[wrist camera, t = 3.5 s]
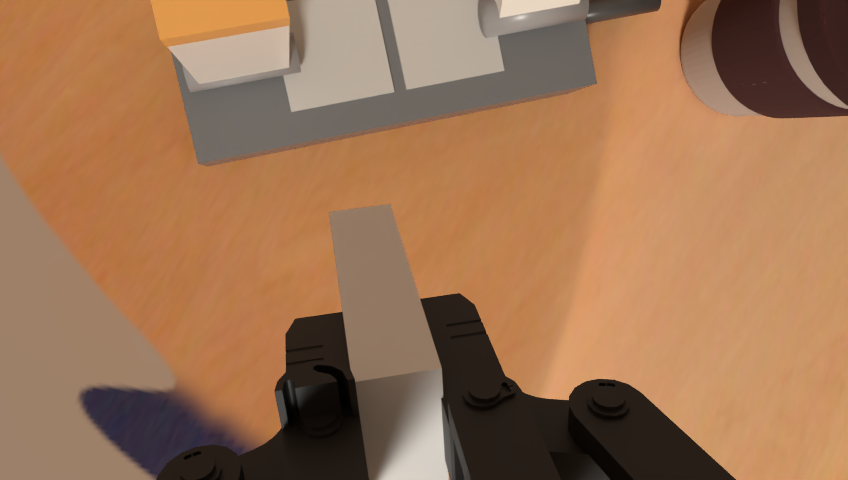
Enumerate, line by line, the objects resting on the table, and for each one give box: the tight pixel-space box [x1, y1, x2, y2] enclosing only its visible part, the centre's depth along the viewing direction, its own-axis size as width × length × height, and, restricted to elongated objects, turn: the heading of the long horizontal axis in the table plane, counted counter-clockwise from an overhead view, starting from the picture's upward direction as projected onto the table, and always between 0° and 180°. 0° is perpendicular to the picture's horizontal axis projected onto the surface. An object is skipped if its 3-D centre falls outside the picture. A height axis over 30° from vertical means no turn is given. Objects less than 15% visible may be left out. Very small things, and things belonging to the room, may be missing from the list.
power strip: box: [172, 0, 661, 166], centre depth 38 cm, size 26×8×4 cm, turn 102°
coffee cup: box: [680, 0, 848, 118], centre depth 36 cm, size 10×10×15 cm
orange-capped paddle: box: [151, 0, 301, 92], centre depth 29 cm, size 5×2×12 cm, turn 102°
